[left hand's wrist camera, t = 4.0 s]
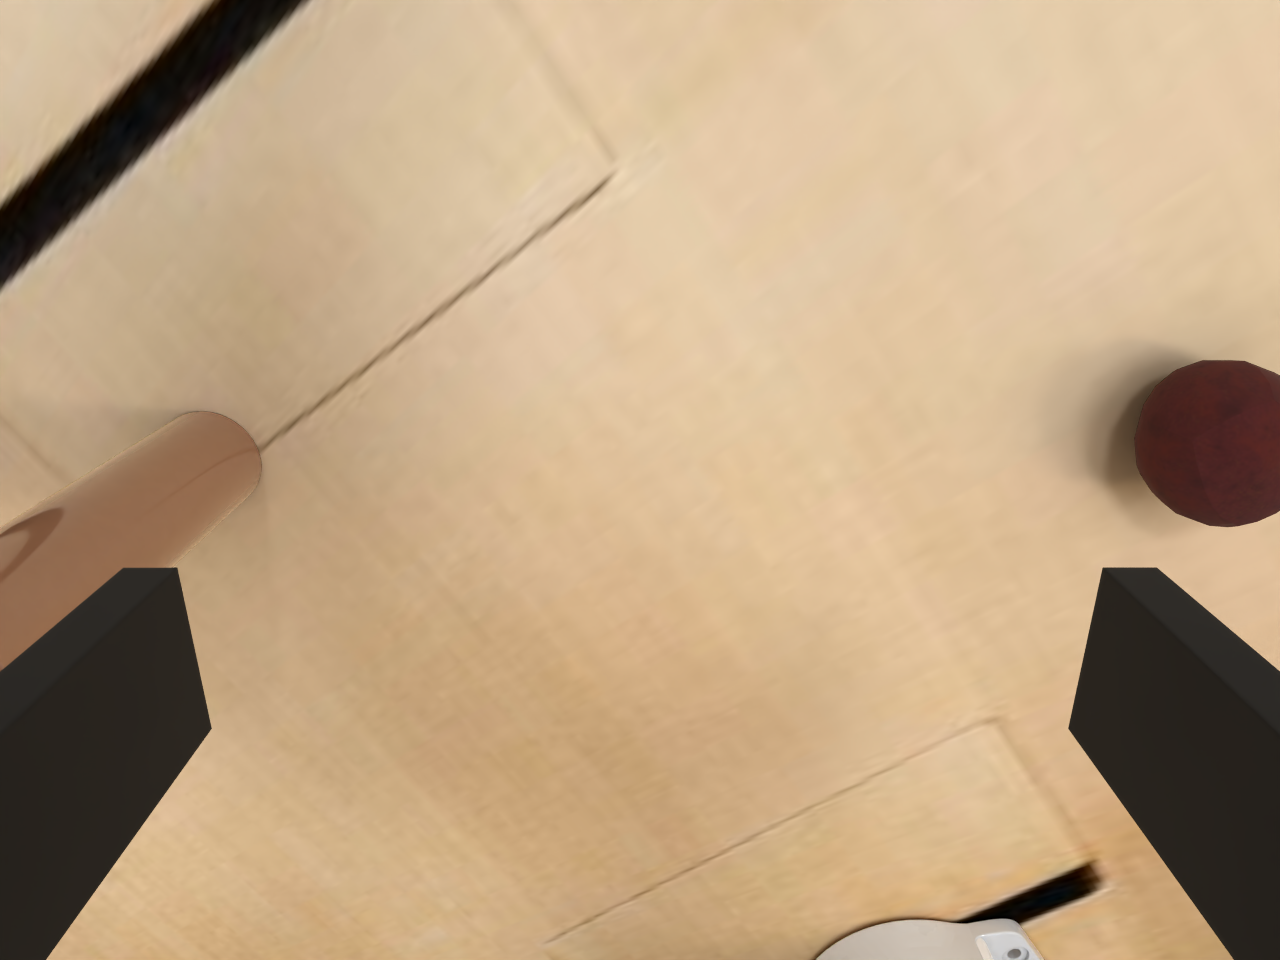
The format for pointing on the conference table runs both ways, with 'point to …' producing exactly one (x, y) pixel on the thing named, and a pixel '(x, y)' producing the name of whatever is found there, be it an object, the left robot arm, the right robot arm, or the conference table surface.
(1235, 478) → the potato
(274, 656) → the conference table surface
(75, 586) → the bottle
